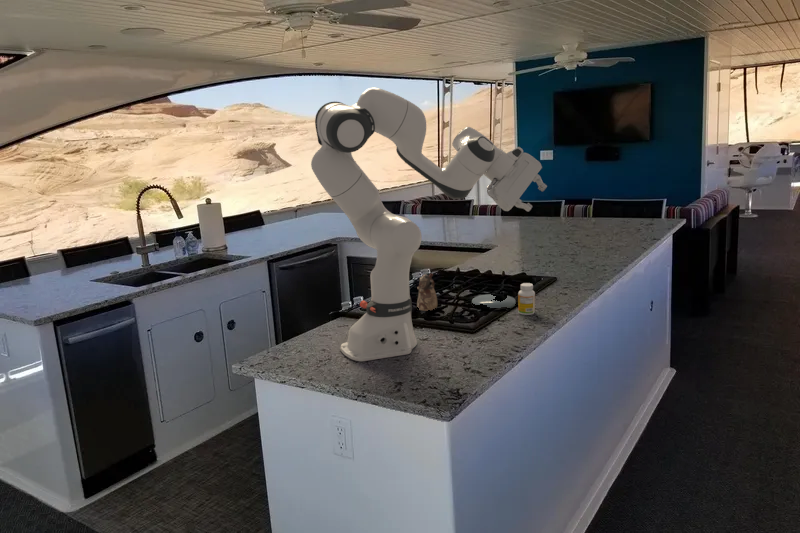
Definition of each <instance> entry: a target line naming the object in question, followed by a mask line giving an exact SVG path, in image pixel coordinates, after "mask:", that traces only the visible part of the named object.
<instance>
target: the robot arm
mask: <svg viewBox="0 0 800 533" xmlns="http://www.w3.org/2000/svg"><path fill="white" fill-rule="evenodd" d="M314 123H315V124H314V125H315V131H316V136H317V142H318V144H319V145H320V146H321V147H320V148H318V150H317V151H316V152H315V153H314V154H313V157H312V159H311V163H310V167H311V170H312V172H313V173H314V175H315V178H317V180H318V182H319V183H320V185H321V186H322V188H323V190H324V191H325V192H326V193H327V194H328V195H329V197H330V198H331V199H332V200H333V202H334V203H335V204H336V205H337V206H338V207H339V209H341V211H342V212H343V213H344V214H345V215H346V217H347V218H348V219H349V220H348V221H350V223H351V225H352V226H353V228H354V230H355V233H356V234H357V237H358V238H359V239H360V240H361V242H362V243H363V244H364V245H366V246H368V247H369V248H372V249H374V250H376V253H377V254H376V255H377V256H376V261H375V265H374V267H373V269H372V270H371V272H370V277H369V278H370V292H371V298H370V300H369V302H367V301H366V300H361V301H360V302H359V307H361V308H363V309H366V313H364V314H363V315H362V316H361V317H360V318H359V319H358V320H357V321H356V322H355V323H353V325H351V327H350V328H349V330H348V333H347V334H348V336H347V341H346V342H343V343H341V345H340V351H341V353H342V354H343V355H344V356H346V357H347V358H348V359H350V360H353V361H356V362H367V361H373V360H378V359H386V358H392V357H397V356H398V357H399V356H405V355H409V354H411V353H412V351H413V349H414V348H415V347H416V346H417V345H418V341H417V338H416V335H415V331H414V326H413V322H412V313H413V311H412V310H413V307H412V306H413V304H412V298H411V295H410V268H411V264H412V260H413V256H414V254H415V252H417V251H418V250H419V248H420V246H421V243H422V231H421V229H420V227H419V226H418V225H417V224H416V223H415V222H414V221H412V220H410V219H409V218H408V217H405V216H402V215H397V214H394V213H392V212H391V211H390V210H388V209H387V208H386V207H385V205H384V204H383V202H382V199H381V197H380V191H379V189H378V188H377V186H376V184H374V183H373V182H372V180H371V179H370V178H369V177H368V175H367V174H366V173H365V171H364V170H363V169H362V168H361V166H360V165H359V164H358V163H357V161H356V160H355V158H354V157H353V155H352V154H353V152H356V151H359V150H360V149H362V148H363V147H364V146H365V144H366V143H367V142H368V140H369V139H370V138H371V136H372V135H373V134H374V133H376V134H379V135H381V136H383V138H386V139H388V140H390V141H392V143H394V145H395V147H396V153H397V155H398V156H399V158H400V159H401V160H402V161H403V162H405V164H406V165H408V166H409V167H410V168H411V169H413V170H414V171H416V172H417V173H418V174H420V175H421V176H422V177H424V178H425V179H426V180H428V181H429V182H430V183H432V184H433V185H435V187H437V188H438V189H439V190H440V191H441V192H442V193H443V194H444V195H445V196H446V197H448V198H450V199H452V200H460V199H461V200H462V199H465V198H467V197H468V196H469V194H470V192H471V191H472V190H473V188H474V186H475V185H476V184H477V182H478V181H479V180H480V179H481V178H482V176H483V175H484V176H485V177H486V178H487V179H489V181H491V182H490V184H488V186H487V187H486V190H487V191H486V192H487V196H488V197H490V198H491V199H492V201H493V202H494V203H495V204H496V205H497V206H498V207H499V208H500V209H502V211H504V212H509V211H510V210H512V208H513V207H516V208H518V209H523V210H525V211H526V212H530V211H531V210H532V208H533V205H532V204H531V203H530V202H527V203H524V202H523V200H522V199H520V198H521V197H522V195H523V194H524V193H525V191H527V188H528V187H529V186H530V185H531V183H532V182H534V183H536V185H537V189H538V190H539V191H541V192H544V191H545V190H546V189H547V187H548V185H547V184H546V183H544V182H543V180H542V177H541V175H540V174H538V173H539V172H540V171H541V170H542V169H543V166H542V164H541V162H540V161H539V160H537V159H536V158H535V157H534V156H532V155H531V154H529V153H528V152H524V150H523V148H521V147H520V146H517V147H516V148H513V149H512V150H510V151H508V152H505V151H504V150H503V149H500V148H498V147H497V146H496V145H495V144H494V142H493V141H492V140H491V139H489V138H488V137H486V136H485V135H484V134H483V133H481V132H480V131H479V130H477V129H475V128H473V127H471V126H467V127H464V128H463V129H462V130H461V131H459V132H458V133H457V135H455V137H454V139H453V141H452V147H453V148H454V149H455V150H456V154H455V155H454V156H453V158H452V159H451V160H450V161H449V163H448V164H447V165H445V166H444V167H440V166H438V165H437V164H436V163H434V161H432V160H431V159H429V158H428V157H427V156H425V155H424V154H423V153H422V150H423V146H424V142H425V138H426V135H427V119H426V116H425V114H424V112H423V110H422V109H421V108H420V107H419V106H417V105H416V104H415V103H413V102H411V101H409V100H408V99H406V98H404V97H402V96H400V95H399V94H395V93H393V92H391V91H388V90H385V89H383V88H379V87H369V88H366V89H365V90H364V91H363V92H362V93H361V95H360V96H359V97H358V100H357V102H355V103H354V104H352V105H349V104H346V103H343V102H341V101H329V102H327V103H324V104H323V105H321V107H319V109H318V110H317V112H316V115H315V118H314Z"/></svg>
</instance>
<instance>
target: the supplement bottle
mask: <svg viewBox="0 0 800 533" xmlns="http://www.w3.org/2000/svg"><path fill="white" fill-rule="evenodd" d="M517 297H518V298H517V303H518V304H517V305H518V308H517V310H518V314H520V315H522V316H531V315H534V314H535V313H536V293H535V291H534V285H533V283H530V282H523V283H521V284H520V290H519V291H518V293H517Z"/></svg>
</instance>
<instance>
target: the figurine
mask: <svg viewBox="0 0 800 533" xmlns="http://www.w3.org/2000/svg"><path fill="white" fill-rule="evenodd" d="M433 276H434V274H433V273H429V275H428V274H427V273H424V274H423V275H421V277H419V284H418V286H417V287H416V288H417V290H418V294H417V301H416V308H417V307H418V308H419V311H423V312H424V311H425V312H428V310H430V311H433V309H434V310H436V309H437V307H438V297H437V293H436V290H435V281H434V280H433ZM435 308H436V309H435Z"/></svg>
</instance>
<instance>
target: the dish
mask: <svg viewBox="0 0 800 533" xmlns="http://www.w3.org/2000/svg"><path fill="white" fill-rule="evenodd" d="M495 297H496V296H493V295H491V293H490V294H486V293H485V294H482V295H477V296H475V297H474V298H472V300H471V304H472V303H473V304H475V305H480V304H483V305H487V307H490V308H501V307H507V308H510V309H512V308H514V307H515V306H516V305H517V304H516V302H517V301H516V298H515V297H513V296H510V295H507V298H506V299H505V300H503V301H501V302H500V301H497V300H496V301H495V300H493V299H495ZM491 300H492V301H491ZM515 304H516V305H515Z"/></svg>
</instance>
